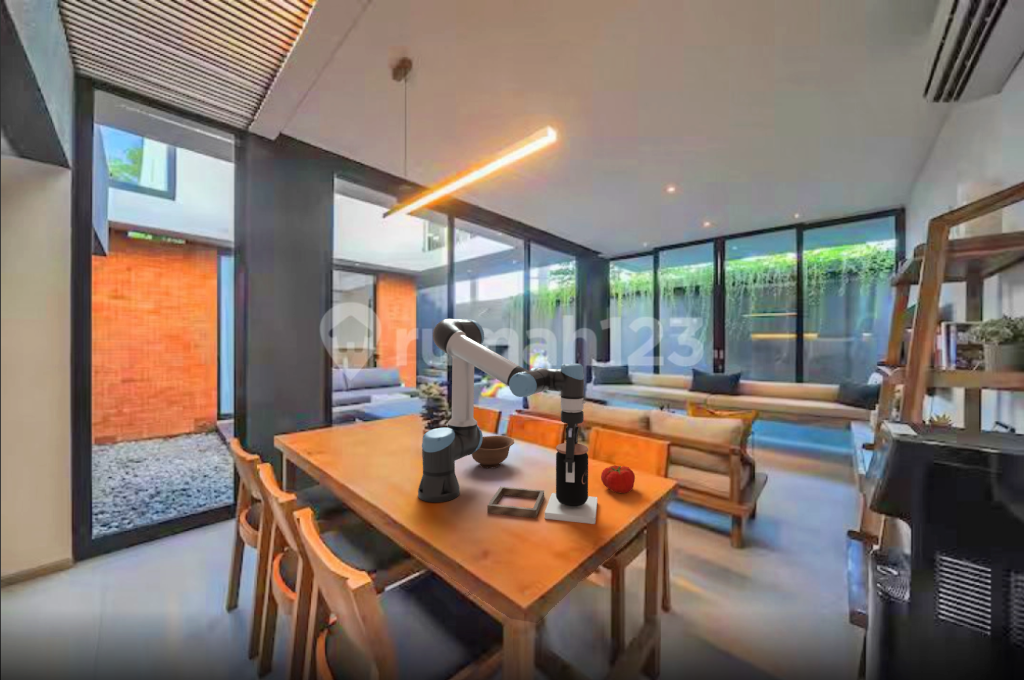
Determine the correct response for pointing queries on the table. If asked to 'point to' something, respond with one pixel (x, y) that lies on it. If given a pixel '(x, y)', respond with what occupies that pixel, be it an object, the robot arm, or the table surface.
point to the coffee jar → (575, 490)
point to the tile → (572, 511)
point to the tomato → (618, 479)
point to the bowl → (493, 451)
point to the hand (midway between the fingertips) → (571, 475)
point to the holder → (512, 509)
